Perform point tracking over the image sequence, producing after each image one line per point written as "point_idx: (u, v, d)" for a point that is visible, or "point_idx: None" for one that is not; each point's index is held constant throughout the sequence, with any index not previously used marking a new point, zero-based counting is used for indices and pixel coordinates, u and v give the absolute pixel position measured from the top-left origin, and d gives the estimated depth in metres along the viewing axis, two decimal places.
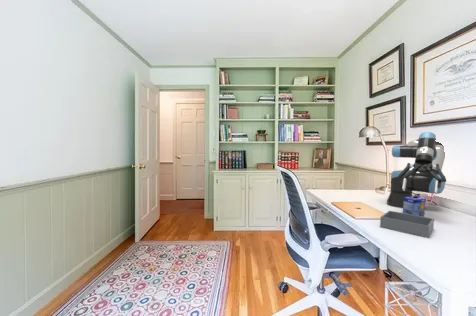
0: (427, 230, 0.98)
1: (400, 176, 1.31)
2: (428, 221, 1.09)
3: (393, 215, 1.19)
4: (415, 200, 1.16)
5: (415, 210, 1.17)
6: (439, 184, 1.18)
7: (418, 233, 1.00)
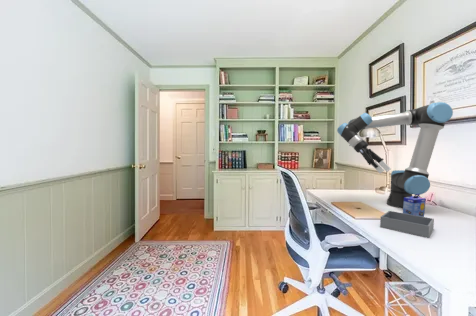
0: (427, 230, 0.98)
1: None
2: (428, 221, 1.09)
3: (393, 215, 1.19)
4: (415, 200, 1.16)
5: (415, 210, 1.17)
6: None
7: (418, 233, 1.00)
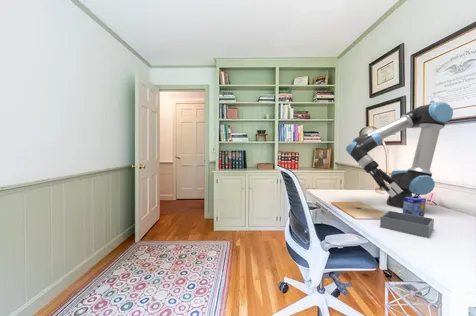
0: (427, 230, 0.98)
1: None
2: (428, 221, 1.09)
3: (393, 215, 1.19)
4: (415, 200, 1.16)
5: (415, 210, 1.17)
6: None
7: (418, 233, 1.00)
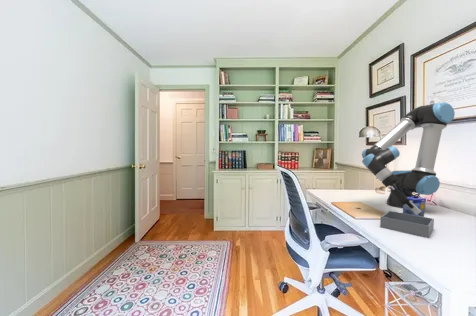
0: (427, 230, 0.98)
1: None
2: (428, 221, 1.09)
3: (393, 215, 1.19)
4: (415, 200, 1.16)
5: None
6: None
7: (418, 233, 1.00)
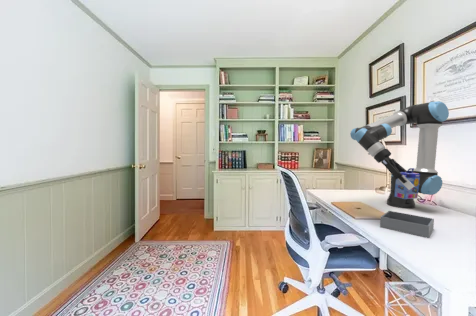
0: (427, 230, 0.98)
1: None
2: (428, 221, 1.09)
3: (393, 215, 1.19)
4: (408, 174, 1.07)
5: None
6: None
7: (418, 233, 1.00)
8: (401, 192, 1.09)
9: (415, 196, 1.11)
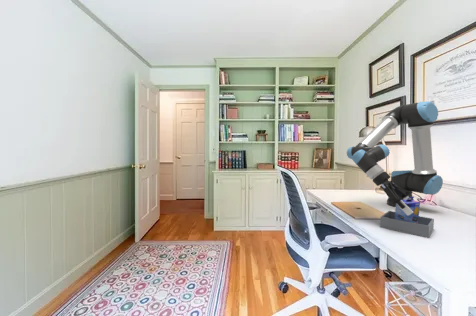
0: (427, 230, 0.98)
1: None
2: (428, 221, 1.09)
3: (393, 215, 1.19)
4: (408, 204, 1.05)
5: (408, 216, 1.05)
6: None
7: (418, 233, 1.00)
8: None
9: None
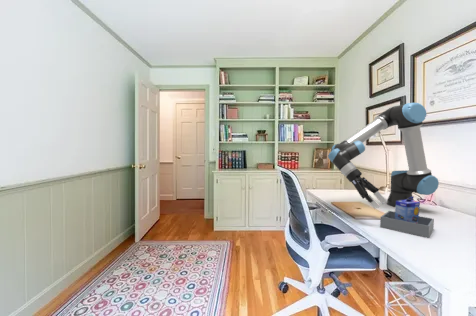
0: (427, 230, 0.98)
1: None
2: (428, 221, 1.09)
3: (393, 215, 1.19)
4: (408, 204, 1.05)
5: (408, 215, 1.05)
6: None
7: (418, 233, 1.00)
8: None
9: None
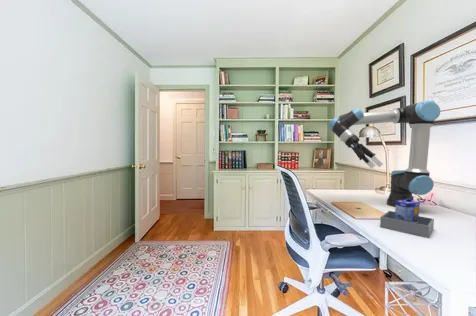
0: (427, 230, 0.98)
1: None
2: (428, 221, 1.09)
3: (393, 215, 1.19)
4: (408, 204, 1.05)
5: (408, 215, 1.05)
6: None
7: (418, 233, 1.00)
8: None
9: None
